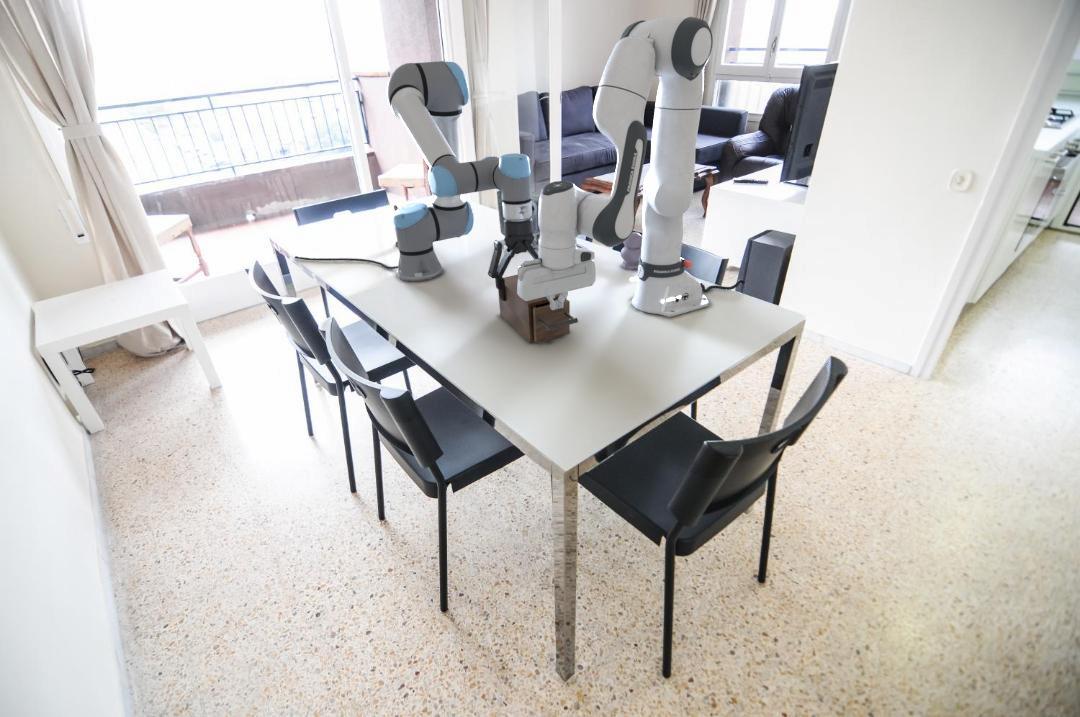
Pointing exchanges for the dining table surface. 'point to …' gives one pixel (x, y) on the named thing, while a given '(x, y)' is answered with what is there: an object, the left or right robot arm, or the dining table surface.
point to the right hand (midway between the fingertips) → (556, 308)
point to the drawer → (551, 321)
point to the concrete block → (534, 216)
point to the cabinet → (519, 308)
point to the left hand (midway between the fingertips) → (522, 294)
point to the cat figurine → (632, 251)
